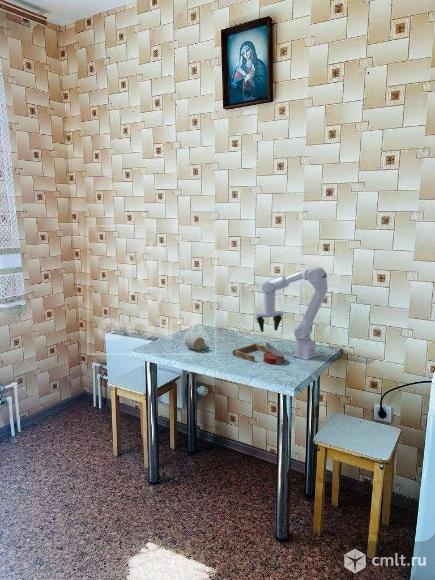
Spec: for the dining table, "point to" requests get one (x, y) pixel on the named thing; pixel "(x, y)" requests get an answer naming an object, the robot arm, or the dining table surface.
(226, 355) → the dining table surface
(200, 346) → the ceramic mug
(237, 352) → the brown wooden u-shaped piece
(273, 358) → the canned food
